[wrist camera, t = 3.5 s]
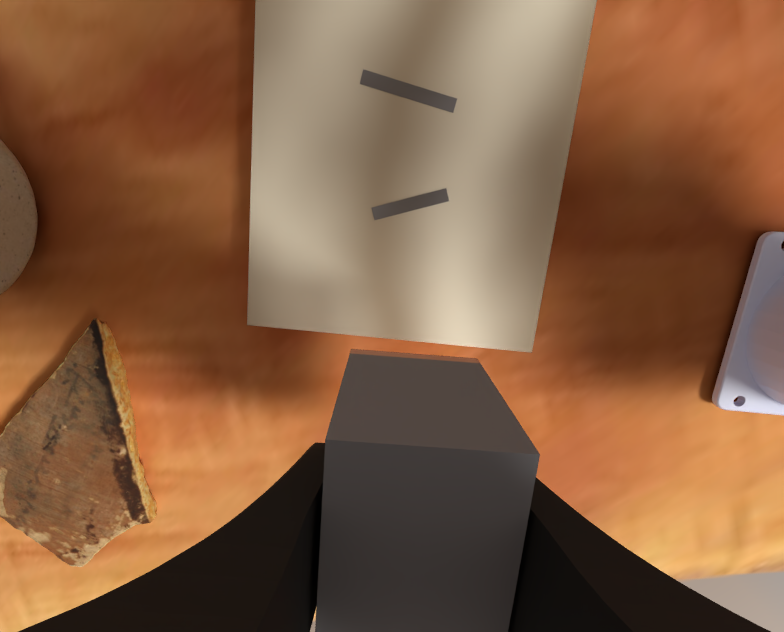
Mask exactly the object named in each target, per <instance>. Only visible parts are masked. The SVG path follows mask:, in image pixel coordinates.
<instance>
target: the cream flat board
mask: <svg viewBox="0 0 784 632" xmlns="http://www.w3.org/2000/svg"><path fill="white" fill-rule="evenodd" d="M596 2H597V0H256V3H255V41H254V80H253V118H252V156H251V195H250V233H249V272H248V310H247V325H253V326H263V327H274V328H284V329H294V330H304V331H315V332H325V333H335V334H346V335H356V336H366V337H377V338H387V339H397V340H408V341H418V342H428V343H438V344H449V345H459V346H469V347H480V348H490V349H500V350H511V351H521V352H531V353H532V349H533V343H534V338H535V332H536V327H537V321H538V316H539V311H540V305H541V300H542V294H543V289H544V283H545V278H546V273H547V267H548V262H549V256H550V251H551V246H552V240H553V235H554V229H555V224H556V218H557V213H558V208H559V202H560V197H561V191H562V186H563V180H564V175H565V170H566V164H567V159H568V153H569V148H570V143H571V137H572V132H573V126H574V121H575V115H576V110H577V105H578V99H579V94H580V88H581V83H582V77H583V72H584V67H585V61H586V56H587V50H588V45H589V40H590V34H591V29H592V23H593V18H594V12H595V7H596Z"/></svg>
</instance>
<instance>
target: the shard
mask: <svg viewBox="0 0 784 632" xmlns="http://www.w3.org/2000/svg"><path fill="white" fill-rule="evenodd" d="M130 400H131V397H130V391H129V388H128V385H127V377H126V370H125V368H124V364H123V362H122V357H121V355H120V353H119V352H118V349H117V346H116V341H115V338H114V336H113V334H112V332H111V330H110V328H109V327H108V326H107V324H106V322H105V323H103V324H101V321H100V320H99V319H97V318H94V319H93V321H92V322H91V324H90V325H89V326H88V328H87V329H86V331H85V332H84V334H83V335H82V336H81V337H80V338H79V339H78V341H77V342H76V343H75V344H74V345H73V346H72V347H71V349H70V351H69V352H68V354H67V356H66V358H65V360H64V362H63V363H62V364H60V365H59V367H58V368H57V369H56V371H55V372H54V373H53V374H52V375H51V376H50V378H49V379H48V380H47V381H46V382H45V383H44V384H43V386H41V387H40V388H38V389H37V390H36V391H35V392H34V393H33V394H32V395H31V396H30V398H29V399H28V401H27V402H26V403H25V405H24V406H23V407H22V409H21V410H20V411H19V412H18V413H17V414H16V415H15V416H14V417H13V418H12V419H11V421H9V423H8V424H7V425H6V427H5V430H4V432H3V433H2V434H1V435H0V517H2V518H4V519H5V520H6V521H7V522H8V523H9V524H11V525H12V526H13V527H14V528H16V529H18V530H21V531H23V532H24V533H25V534H26V535H27V536H29V537H31V538H32V539H34V540H35V541H36V542H38V543H39V544H41V545H42V546H44V547H45V548H47V549H48V550H50V551H51V552H52V553H54V554H55V555H56V556H57V557H58V558H59V559H61V560H62V561H64V562H65V563H67V564H69V565H70V566H77V567H83V566H84V565H85V564H86V563H87V562H88V561H90V560H91V559H92V557H93V556H94V555H95V554H96V553H97V552H99V551H100V549H102V548H103V547H104V546H105V545H106V544H107V543H108V542H110V541H111V540H112V539H113V538H114V537H116V536H118V535H120V534H122V533H123V532H125V531H126V530H128V529H130V528H131V527H133V526H134V525H138V524H146V523H150V522H151V521H152V520H153V519H154V518H155V516H156V511H157V506H156V501H155V499H154V498H153V496H152V494H151V493H150V491H149V486H148V484H147V482H146V480H145V478H144V467H143V465H142V464H141V463H140V461H139V452H138V445H137V441H136V425H135V420H134V418H133V417H134V416H133V408H132V406H131V401H130Z"/></svg>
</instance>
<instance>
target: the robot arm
mask: <svg viewBox="0 0 784 632" xmlns="http://www.w3.org/2000/svg"><path fill="white" fill-rule="evenodd" d="M783 241H784V232H773V231H772V232H766V233H764V234H762V235H761V236H760V237H759V239H758V241H757V244H756V247H755V251H754V254H753V258H752V261H751V265H750V268H749V271H748V275H747V278H746V282H745V285H744V289H743V292H742V295H741V299H740V302H739V306H738V309H737V313H736V316H735V319H734V323H733V326H732V330H731V333H730V337H729V340H728V343H727V347H726V350H725V354H724V357H723V361H722V364H721V367H720V371H719V374H718V378H717V381H716V385H715V388H714V391H713V395H712V402H713V404H714V405H716V406H717V407H719V408H721V409H724V410H731V411H742V412H753V413H763V414H774V415H784V248H783V249H782V248H781V244H782V243H783ZM736 397H738V399H737V401H735V402H734V399H735V398H736ZM324 456H325V443H315V444H313V445H312V446H311V447H310V448H309V449H308V450H307V451H306V452H305V453H304V455H303V456H302V457H301V458H300V459H299V460H298V461H297V462H296V463H295V464H294V465H293V466H292V467H291V468H290V469H289V470H288V471H287V472H286V473H285V474H284V475H283V476H282V477H281V478H280V479H279V480H278V481H277V482H276V483H275V484H274V485H273V486H272V487H270V488H269V489H268V490H267V491H266V492H265V493H264V494H263V495H261V496H260V497H259V498H258V499H257V500H256V501H254V502H253V503H252V504H251V505H250V506H248V507H247V508H246V509H245V510H244V511H243V512H241V513H240V514H239V515H237V516H236V517H235V518H234V519H232V520H231V521H230V522H228V523H227V524H226V525H224V526H223V527H221V528H220V529H218V530H217V531H216V532H214V533H213V534H211V535H210V536H208V537H207V538H205V539H204V540H202V541H201V542H199V543H197V544H196V545H194V546H192V547H191V548H189V549H187V550H186V551H184V552H182V553H181V554H179V555H177V556H176V557H174V558H172V559H171V560H169V561H167V562H165V563H164V564H162V565H160V566H159V567H157V568H155V569H153V570H152V571H150V572H148V573H146V574H144V575H142V576H140V577H138V578H136V579H134V580H132V581H130V582H129V583H127V584H125V585H123V586H121V587H118V588H116V589H114V590H112V591H110V592H108V593H106V594H104V595H102V596H100V597H98V598H96V599H94V600H91V601H89V602H87V603H85V604H83V605H80V606H78V607H76V608H74V609H71V610H69V611H66V612H64V613H62V614H59V615H57V616H55V617H52V618H50V619H47V620H45V621H43V622H40V623H38V624H35V625H33V626H31V627H28V628H26V629H23V630H21V631H19V632H310V628H311V625H312V621H313V617H314V613H315V610H316V606H317V589H318V570H319V551H320V532H321V513H322V494H323V475H324ZM508 632H770V631H768V630H766V629H764V628H762V627H760V626H758V625H756V624H754V623H752V622H750V621H749V620H747V619H745V618H743V617H741V616H739V615H737V614H735V613H733V612H731V611H729V610H728V609H726V608H724V607H722V606H720V605H719V604H717V603H715V602H713V601H711V600H710V599H708V598H706V597H704V596H703V595H701V594H699V593H697V592H696V591H694V590H692V589H690V588H688V587H687V586H685V585H683V584H682V583H680V582H678V581H677V580H675V579H673V578H672V577H670V576H668V575H667V574H665V573H663V572H662V571H660V570H659V569H657V568H656V567H654V566H652V565H651V564H649V563H648V562H646V561H645V560H643V559H642V558H640V557H639V556H637V555H636V554H634V553H633V552H631V551H629V550H628V549H627V548H625V547H624V546H622V545H621V544H619V543H618V542H617V541H615V540H614V539H612V538H611V537H610V536H608V535H607V534H606V533H604V532H603V531H602V530H600V529H599V528H598V527H596V526H595V525H594V524H592V523H591V522H590V521H588V520H587V519H586V518H584V517H583V516H582V515H581V514H579V513H578V512H577V511H576V510H574V509H573V508H572V507H571V506H569V505H568V504H567V503H566V502H564V501H563V500H562V499H561V498H560V497H558V496H557V495H556V494H555V493H554V492H553V491H551V490H550V489H549V488H548V487H547V486H545V485H544V484H543V483H542V482H541V481H540V480H538V479H537V478H536V479H535V484H534V490H533V495H532V501H531V506H530V512H529V518H528V523H527V529H526V534H525V540H524V545H523V551H522V556H521V562H520V567H519V573H518V579H517V584H516V590H515V595H514V601H513V606H512V612H511V617H510V623H509V629H508Z"/></svg>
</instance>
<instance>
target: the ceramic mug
mask: <svg viewBox="0 0 784 632" xmlns="http://www.w3.org/2000/svg"><path fill="white" fill-rule="evenodd" d="M37 221H38V215H37V209H36V203H35V197H34V193H33V190H32V188H31V185H30V183H29V180H28V177H27V175H26V173H25V171H24V170H23V168H22V166H21V165H20V163H19V161H18V160H17V158H16V157H15V156H14V154H13V153H12V152H11V151H10V150H9V148H8V147H7V146H6V145H5V144H4V142H3V141H2V140H0V294H2V293H3V292H5V291H6V290H7V289H8V288H9V287H10V286H11V285H12V284H13V283H14V282H15V281H16V280H17V279H18V277H19V276H20V275H21V273H22V272H23V270H24V268H25V266H26V264H27V262H28V260H29V259H30V257H31V254H32V252H33V249H34V246H35V240H36V233H37Z"/></svg>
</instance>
